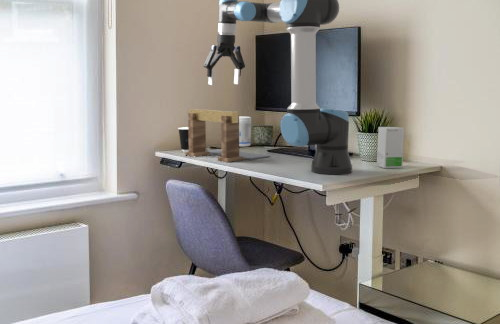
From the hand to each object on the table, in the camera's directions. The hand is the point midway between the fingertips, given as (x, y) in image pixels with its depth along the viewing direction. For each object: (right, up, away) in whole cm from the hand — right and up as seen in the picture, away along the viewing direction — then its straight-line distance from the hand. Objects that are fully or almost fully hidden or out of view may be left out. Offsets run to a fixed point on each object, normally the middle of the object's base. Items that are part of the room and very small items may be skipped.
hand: (223, 84), depth 237 cm
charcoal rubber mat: (+5, -30, +11) cm, 32 cm away
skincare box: (+66, -36, -22) cm, 78 cm away
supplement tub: (+7, -25, +43) cm, 50 cm away
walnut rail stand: (-5, -32, +2) cm, 32 cm away
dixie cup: (-19, -28, +23) cm, 41 cm away
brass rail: (-5, -16, 0) cm, 16 cm away
